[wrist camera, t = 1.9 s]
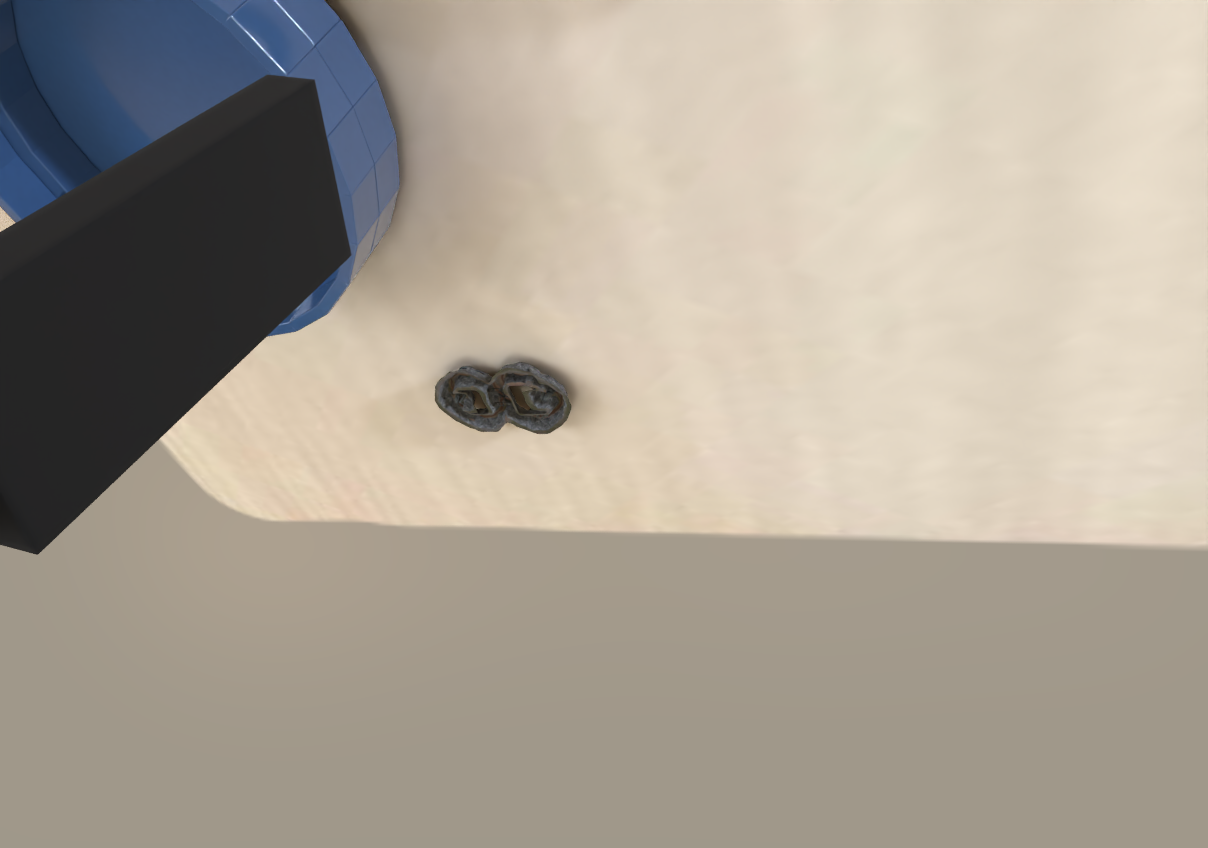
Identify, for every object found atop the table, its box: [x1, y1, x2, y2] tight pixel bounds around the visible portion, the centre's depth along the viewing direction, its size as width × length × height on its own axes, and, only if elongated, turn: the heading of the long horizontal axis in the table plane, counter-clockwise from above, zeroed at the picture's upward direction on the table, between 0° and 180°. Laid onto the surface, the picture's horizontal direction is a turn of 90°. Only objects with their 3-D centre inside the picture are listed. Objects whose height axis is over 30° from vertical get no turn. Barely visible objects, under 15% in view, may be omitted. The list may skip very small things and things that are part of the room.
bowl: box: [0, 0, 400, 337], centre depth 40 cm, size 19×19×5 cm
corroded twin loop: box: [435, 362, 571, 434], centre depth 50 cm, size 5×8×1 cm, turn 106°
